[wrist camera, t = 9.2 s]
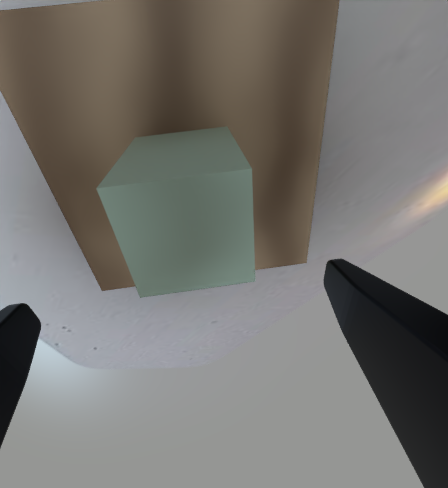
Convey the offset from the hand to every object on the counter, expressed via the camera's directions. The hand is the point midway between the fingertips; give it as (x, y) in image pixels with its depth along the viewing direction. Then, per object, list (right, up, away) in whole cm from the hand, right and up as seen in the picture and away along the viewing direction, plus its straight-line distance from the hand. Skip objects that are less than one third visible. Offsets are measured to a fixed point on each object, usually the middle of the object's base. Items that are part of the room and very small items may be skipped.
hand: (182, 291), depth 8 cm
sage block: (-1, +5, +8) cm, 9 cm away
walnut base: (-1, +6, +9) cm, 11 cm away
